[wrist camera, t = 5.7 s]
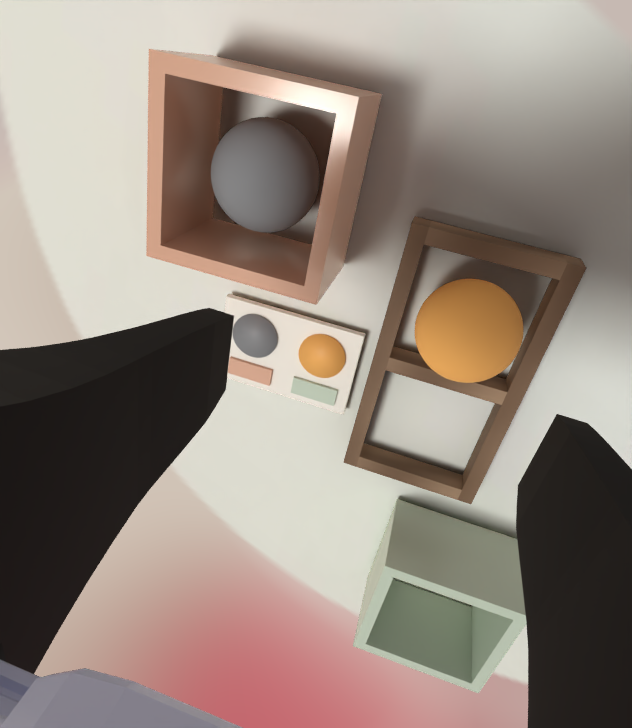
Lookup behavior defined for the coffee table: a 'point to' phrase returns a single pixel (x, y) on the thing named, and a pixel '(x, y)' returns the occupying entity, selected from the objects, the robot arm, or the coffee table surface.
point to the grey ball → (265, 174)
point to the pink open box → (193, 174)
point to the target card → (292, 354)
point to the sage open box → (435, 613)
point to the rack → (495, 389)
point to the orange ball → (469, 330)
